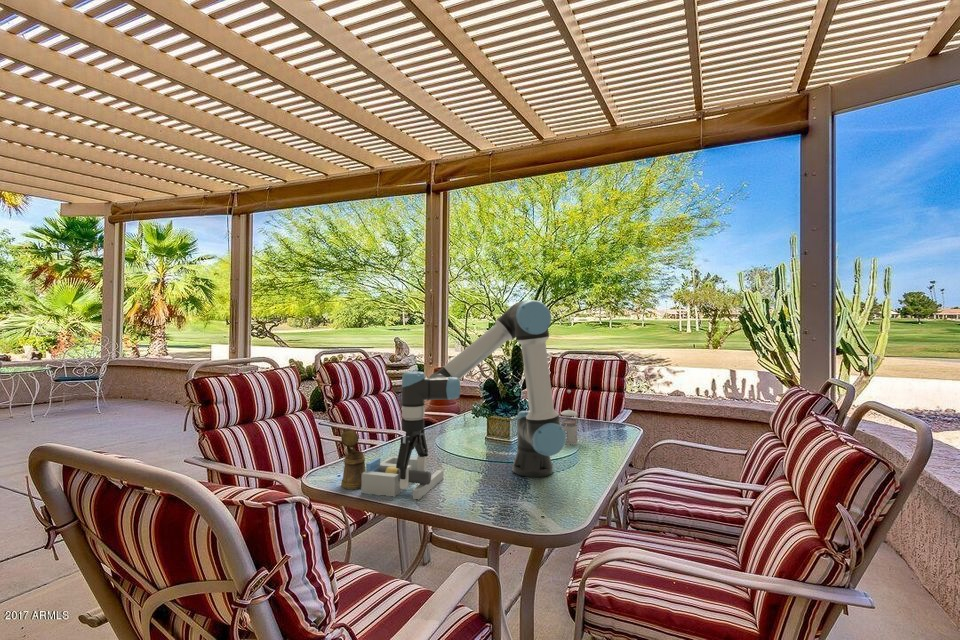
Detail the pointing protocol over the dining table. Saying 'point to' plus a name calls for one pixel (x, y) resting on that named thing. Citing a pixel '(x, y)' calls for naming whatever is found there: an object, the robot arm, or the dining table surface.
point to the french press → (570, 427)
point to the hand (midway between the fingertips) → (412, 482)
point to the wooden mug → (352, 461)
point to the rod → (409, 475)
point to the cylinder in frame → (393, 479)
